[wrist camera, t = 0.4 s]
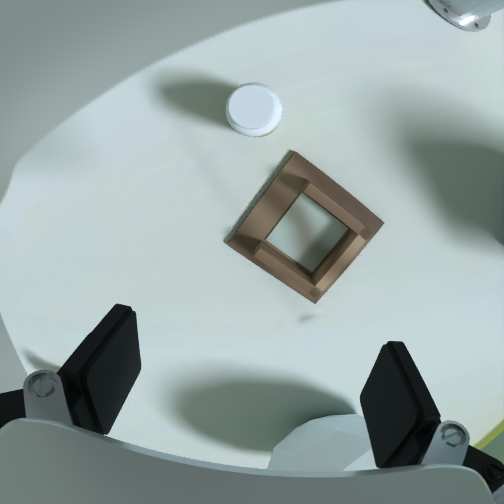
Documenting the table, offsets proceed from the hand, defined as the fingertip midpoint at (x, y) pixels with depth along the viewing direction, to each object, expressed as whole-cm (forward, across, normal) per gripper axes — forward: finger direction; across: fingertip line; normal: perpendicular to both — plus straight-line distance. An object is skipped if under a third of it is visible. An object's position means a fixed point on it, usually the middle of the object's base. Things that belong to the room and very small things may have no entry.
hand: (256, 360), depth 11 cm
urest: (+28, -5, +3) cm, 28 cm away
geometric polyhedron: (+28, -18, +40) cm, 52 cm away
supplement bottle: (+28, +3, -11) cm, 30 cm away
